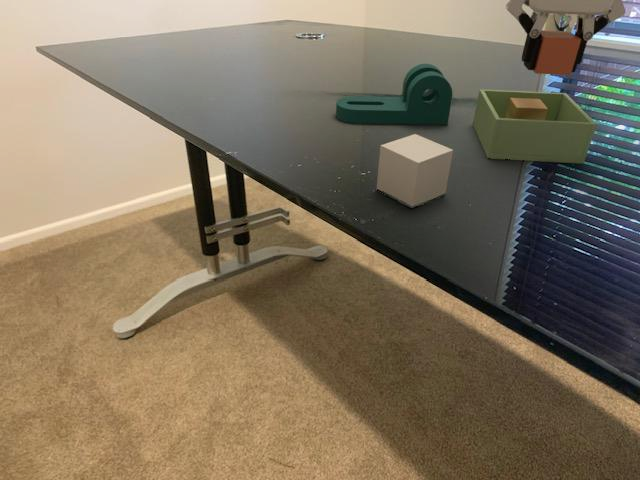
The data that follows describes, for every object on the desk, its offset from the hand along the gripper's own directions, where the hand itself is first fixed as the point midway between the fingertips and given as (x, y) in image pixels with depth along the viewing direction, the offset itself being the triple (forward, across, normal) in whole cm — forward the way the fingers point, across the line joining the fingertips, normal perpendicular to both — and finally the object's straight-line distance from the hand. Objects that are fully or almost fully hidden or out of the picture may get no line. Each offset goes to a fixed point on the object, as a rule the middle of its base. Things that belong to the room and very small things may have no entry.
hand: (548, 67), depth 67 cm
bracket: (+12, +20, -11) cm, 26 cm away
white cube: (+12, +18, +15) cm, 26 cm away
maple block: (+11, 0, -5) cm, 12 cm away
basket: (+12, 0, -3) cm, 12 cm away
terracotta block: (0, 0, 0) cm, 0 cm away
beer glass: (+12, -18, -54) cm, 58 cm away
